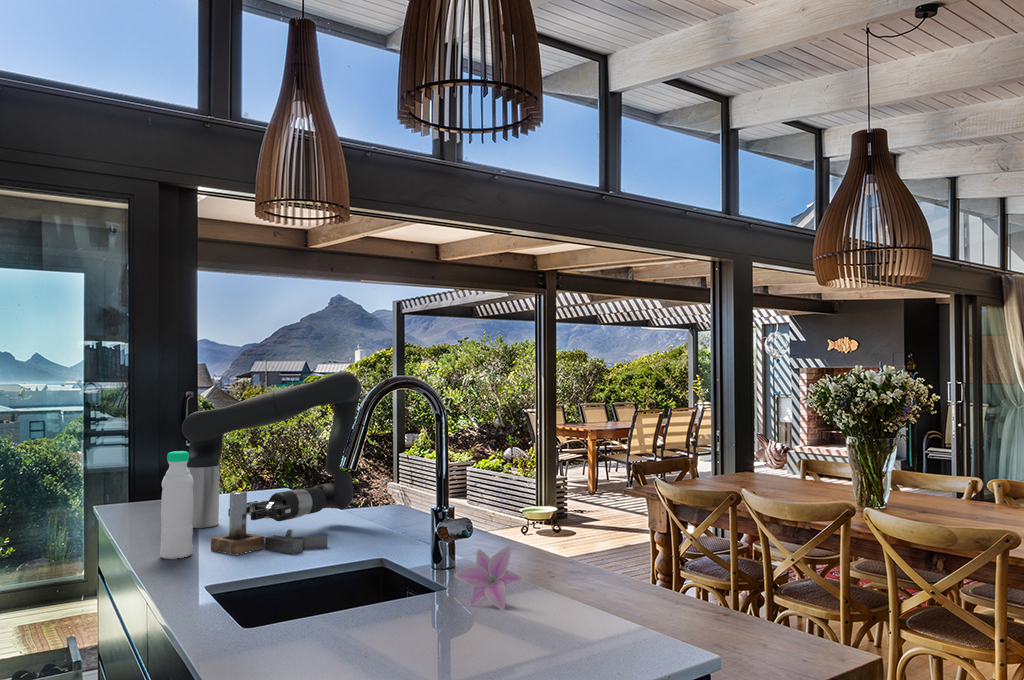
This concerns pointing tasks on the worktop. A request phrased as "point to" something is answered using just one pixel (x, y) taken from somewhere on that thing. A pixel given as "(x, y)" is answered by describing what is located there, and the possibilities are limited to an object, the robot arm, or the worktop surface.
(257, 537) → the brown wooden open box
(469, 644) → the worktop surface
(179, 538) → the water bottle
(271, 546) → the v block
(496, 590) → the lily
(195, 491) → the robot arm
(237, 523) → the gray rectangular bar
